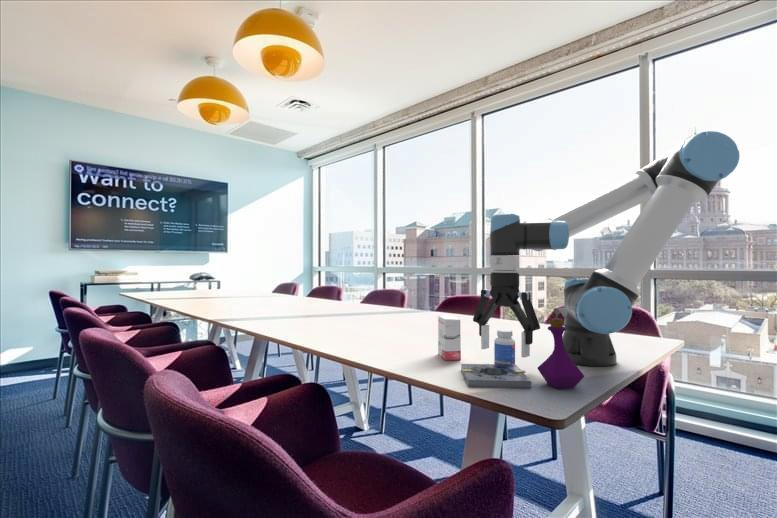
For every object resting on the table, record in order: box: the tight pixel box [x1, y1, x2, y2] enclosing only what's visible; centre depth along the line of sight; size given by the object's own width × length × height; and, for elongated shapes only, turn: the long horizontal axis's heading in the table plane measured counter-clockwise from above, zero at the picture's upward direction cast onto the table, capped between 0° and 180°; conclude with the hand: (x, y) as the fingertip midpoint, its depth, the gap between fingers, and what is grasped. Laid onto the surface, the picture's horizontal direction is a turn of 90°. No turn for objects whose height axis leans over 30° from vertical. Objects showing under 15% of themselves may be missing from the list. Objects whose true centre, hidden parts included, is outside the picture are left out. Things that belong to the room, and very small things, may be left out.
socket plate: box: [461, 363, 532, 389], centre depth 99 cm, size 15×14×2 cm
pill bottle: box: [493, 328, 516, 365], centre depth 110 cm, size 6×5×10 cm
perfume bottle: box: [537, 307, 585, 390], centre depth 93 cm, size 8×8×18 cm
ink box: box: [437, 315, 462, 361], centre depth 120 cm, size 9×5×12 cm, turn 7°
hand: (504, 352), depth 110 cm, fingers open, 12 cm apart
